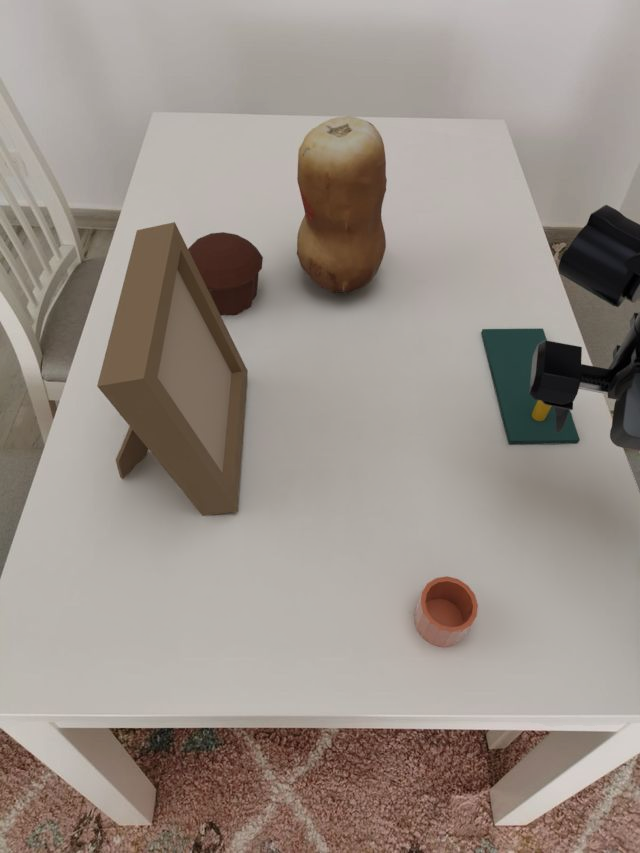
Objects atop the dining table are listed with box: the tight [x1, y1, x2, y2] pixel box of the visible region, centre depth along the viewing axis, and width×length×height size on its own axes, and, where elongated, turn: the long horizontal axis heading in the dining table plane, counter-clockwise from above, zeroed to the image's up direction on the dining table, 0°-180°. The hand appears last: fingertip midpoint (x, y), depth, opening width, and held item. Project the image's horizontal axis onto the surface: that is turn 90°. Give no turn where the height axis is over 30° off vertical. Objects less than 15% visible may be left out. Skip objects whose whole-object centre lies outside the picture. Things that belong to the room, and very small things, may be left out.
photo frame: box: [96, 221, 249, 517], centre depth 69 cm, size 15×22×25 cm
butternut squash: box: [296, 116, 388, 295], centre depth 88 cm, size 14×13×25 cm
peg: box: [532, 400, 551, 421], centre depth 77 cm, size 2×2×11 cm
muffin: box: [187, 231, 264, 317], centre depth 91 cm, size 12×11×10 cm
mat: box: [481, 328, 580, 445], centre depth 85 cm, size 20×9×1 cm, turn 1°
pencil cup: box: [413, 576, 479, 648], centre depth 64 cm, size 6×6×6 cm
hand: (602, 439), depth 65 cm, fingers open, 9 cm apart
